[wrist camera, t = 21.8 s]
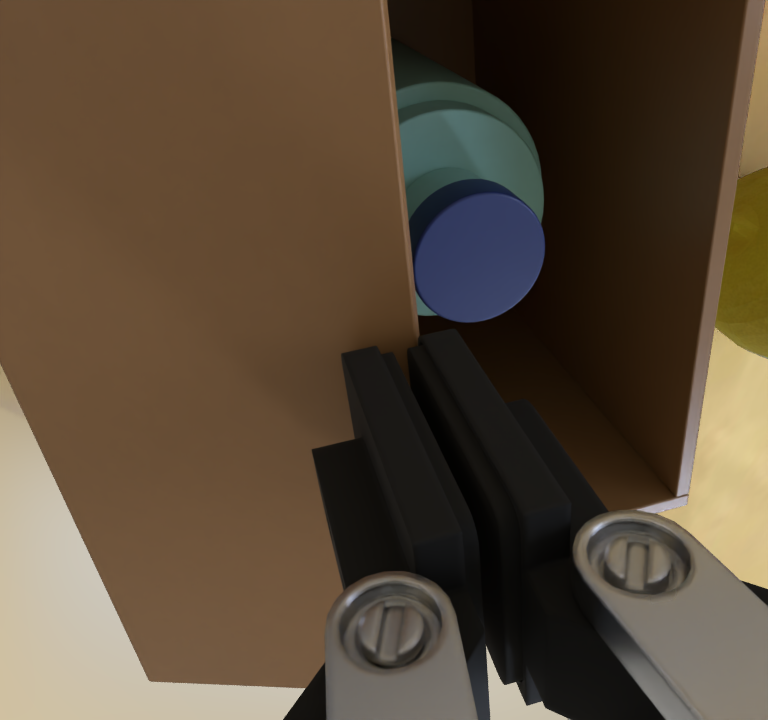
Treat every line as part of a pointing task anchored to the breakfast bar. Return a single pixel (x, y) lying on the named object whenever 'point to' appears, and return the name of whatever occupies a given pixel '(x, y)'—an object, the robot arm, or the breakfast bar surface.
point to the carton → (611, 215)
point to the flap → (201, 299)
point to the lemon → (747, 268)
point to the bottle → (466, 192)
